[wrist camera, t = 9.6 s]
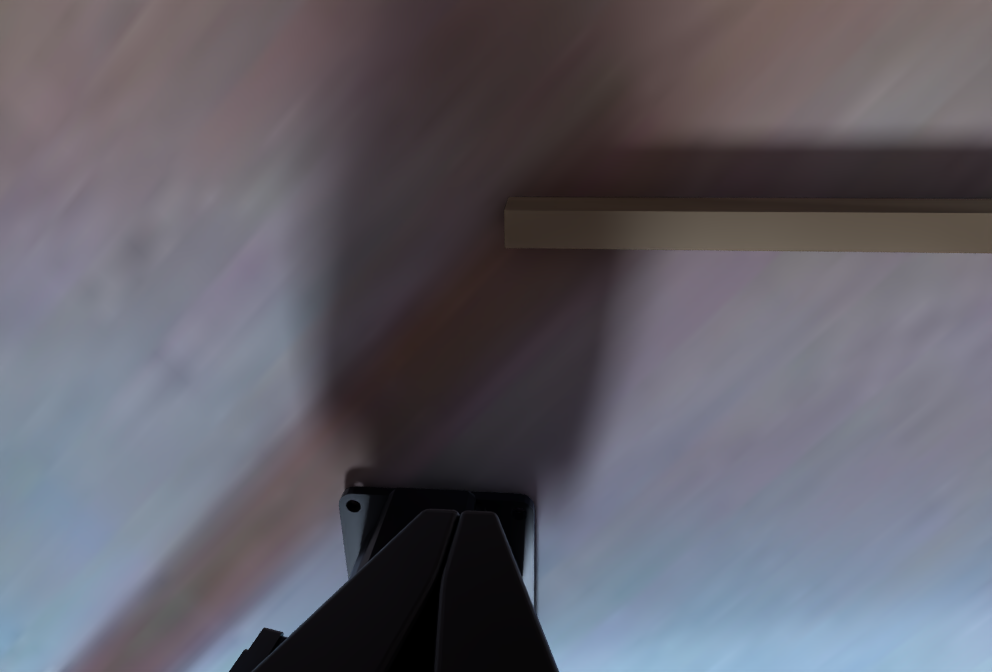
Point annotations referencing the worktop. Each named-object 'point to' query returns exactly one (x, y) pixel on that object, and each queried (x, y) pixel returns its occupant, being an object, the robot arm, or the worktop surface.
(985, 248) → the dock
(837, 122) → the worktop surface
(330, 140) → the worktop surface
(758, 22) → the worktop surface
